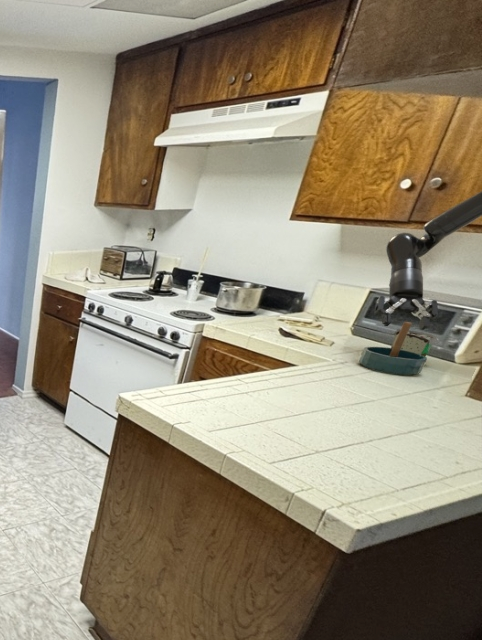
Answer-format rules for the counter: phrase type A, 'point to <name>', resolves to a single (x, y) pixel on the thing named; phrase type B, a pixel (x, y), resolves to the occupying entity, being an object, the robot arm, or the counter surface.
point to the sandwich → (416, 342)
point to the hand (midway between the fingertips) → (405, 326)
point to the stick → (400, 339)
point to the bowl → (392, 361)
